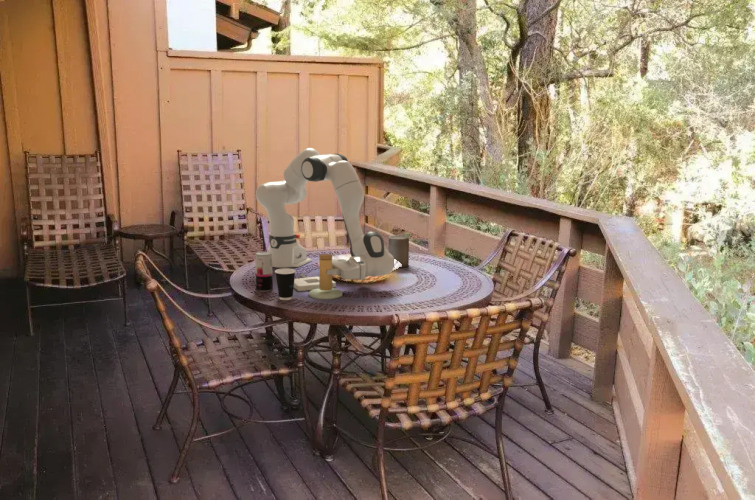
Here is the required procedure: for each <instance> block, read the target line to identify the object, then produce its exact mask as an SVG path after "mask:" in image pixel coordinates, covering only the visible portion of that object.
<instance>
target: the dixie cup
mask: <svg viewBox="0 0 755 500" xmlns="http://www.w3.org/2000/svg"><path fill="white" fill-rule="evenodd" d="M296 271H297V270H296V269H294V268H290V267H286V268H277V269H276V270H274V273H275V279H276V285H277V293H278V294H277V295H278V297H279V298H278V299H279V300H281V301H289V300H292V299H293V296H294V289H295V288H294V279H296V278H295V275H296Z"/></svg>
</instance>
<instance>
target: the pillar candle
mask: <svg viewBox="0 0 755 500" xmlns="http://www.w3.org/2000/svg"><path fill="white" fill-rule="evenodd" d="M387 250H388V252H389V253H390V254H391V255H392V256H393V258H394V259H396V260H397V261H399V262H400V263H401V264H402V267H401V269H402V268H406V267H407V268H408V267H409V260H410V255H409V254H410V237H409V236H408V235H401V234H396V235H395V234H394V235H389V236H388V249H387Z"/></svg>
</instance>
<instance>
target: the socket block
mask: <svg viewBox="0 0 755 500" xmlns="http://www.w3.org/2000/svg"><path fill="white" fill-rule="evenodd" d="M336 287H337V282H336V281H334V280H333V279H332V288H334V289H335V288H336ZM318 288H319V276H311V277H310V276H309V277H308V276H306V275H305V274H303V273H300V274H299V278H294V288H293V289H295V290H297V291H298V292H304V291H311V290H314V289H318Z"/></svg>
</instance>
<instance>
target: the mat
mask: <svg viewBox="0 0 755 500" xmlns="http://www.w3.org/2000/svg"><path fill="white" fill-rule="evenodd" d="M308 295H309V297H310V298H312V299H315V300H335V299H339V298H341V297H343V291H342V290H341V289H337V288H335V287H334V288H332V290H327V291H324V290H320V289H319V288H318V289H314V290H309V292H308Z"/></svg>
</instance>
